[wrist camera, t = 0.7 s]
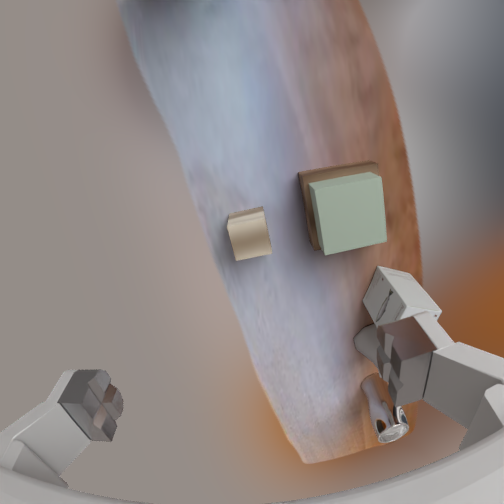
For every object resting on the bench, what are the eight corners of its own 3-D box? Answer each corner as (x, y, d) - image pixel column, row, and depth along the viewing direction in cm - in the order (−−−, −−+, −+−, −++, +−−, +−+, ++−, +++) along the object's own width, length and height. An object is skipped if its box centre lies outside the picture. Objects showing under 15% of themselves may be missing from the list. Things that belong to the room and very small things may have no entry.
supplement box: (376, 264, 50) (407, 304, 38) (410, 272, 51) (444, 311, 39) (360, 300, 53) (384, 346, 41) (393, 307, 54) (421, 350, 42)
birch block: (229, 213, 46) (226, 226, 41) (262, 206, 46) (264, 218, 40) (237, 244, 48) (236, 261, 43) (269, 237, 48) (272, 253, 42)
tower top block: (308, 183, 41) (314, 189, 37) (370, 171, 40) (381, 177, 37) (318, 244, 45) (324, 255, 41) (376, 231, 44) (386, 241, 40)
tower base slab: (297, 171, 44) (302, 176, 41) (367, 159, 44) (377, 163, 40) (309, 240, 49) (314, 250, 45) (374, 227, 48) (384, 236, 44)
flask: (363, 356, 58) (377, 392, 49) (347, 337, 56) (361, 373, 47) (392, 337, 57) (411, 370, 47) (378, 316, 54) (398, 350, 45)
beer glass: (373, 395, 64) (392, 444, 50) (352, 388, 62) (370, 441, 48) (393, 375, 61) (416, 425, 48) (373, 367, 60) (395, 421, 46)
